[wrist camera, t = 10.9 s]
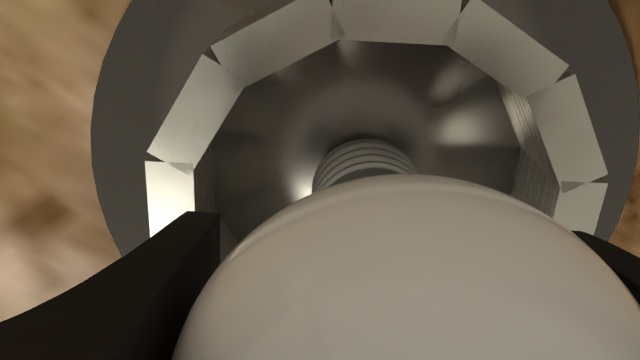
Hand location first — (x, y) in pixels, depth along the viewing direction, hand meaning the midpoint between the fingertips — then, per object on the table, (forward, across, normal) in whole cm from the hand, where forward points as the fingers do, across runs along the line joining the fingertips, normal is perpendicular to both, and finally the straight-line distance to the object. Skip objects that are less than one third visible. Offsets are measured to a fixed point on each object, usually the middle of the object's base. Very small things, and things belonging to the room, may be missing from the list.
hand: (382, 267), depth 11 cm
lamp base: (+5, 0, 0) cm, 5 cm away
